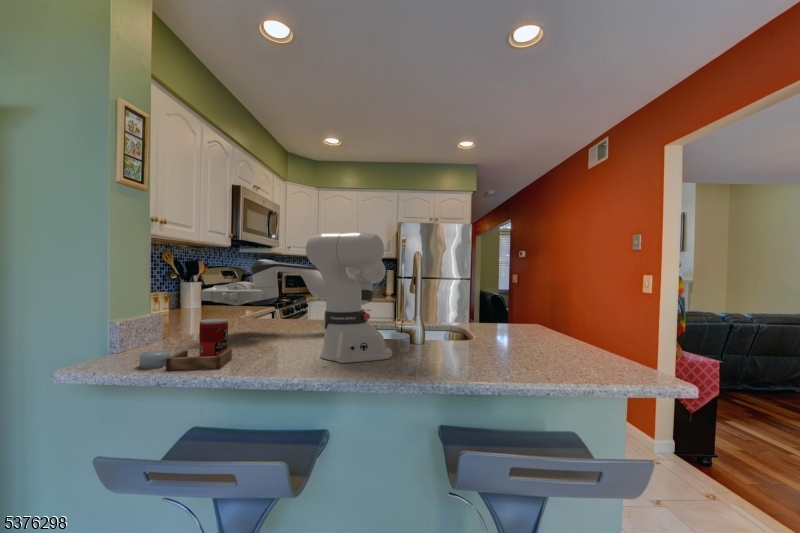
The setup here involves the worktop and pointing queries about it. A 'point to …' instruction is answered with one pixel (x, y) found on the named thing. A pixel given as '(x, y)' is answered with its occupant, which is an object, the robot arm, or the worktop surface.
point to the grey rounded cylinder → (154, 359)
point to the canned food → (213, 337)
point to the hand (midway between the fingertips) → (226, 296)
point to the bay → (197, 361)
